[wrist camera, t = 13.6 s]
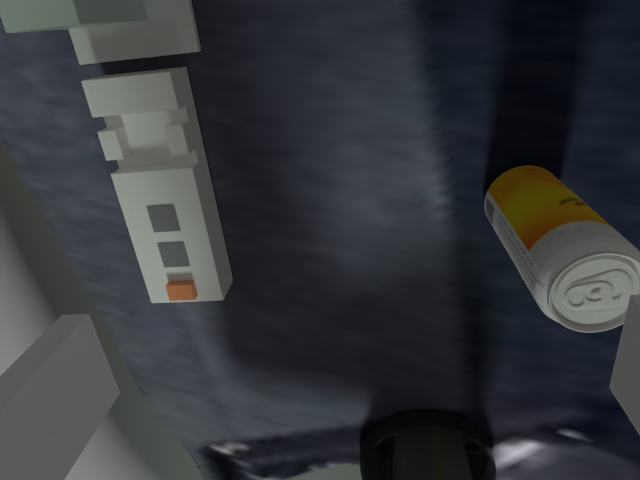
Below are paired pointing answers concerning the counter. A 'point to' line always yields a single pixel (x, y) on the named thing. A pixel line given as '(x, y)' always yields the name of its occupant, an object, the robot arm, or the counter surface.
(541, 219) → the beer can
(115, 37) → the mat
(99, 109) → the power strip
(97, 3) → the block
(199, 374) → the counter surface
